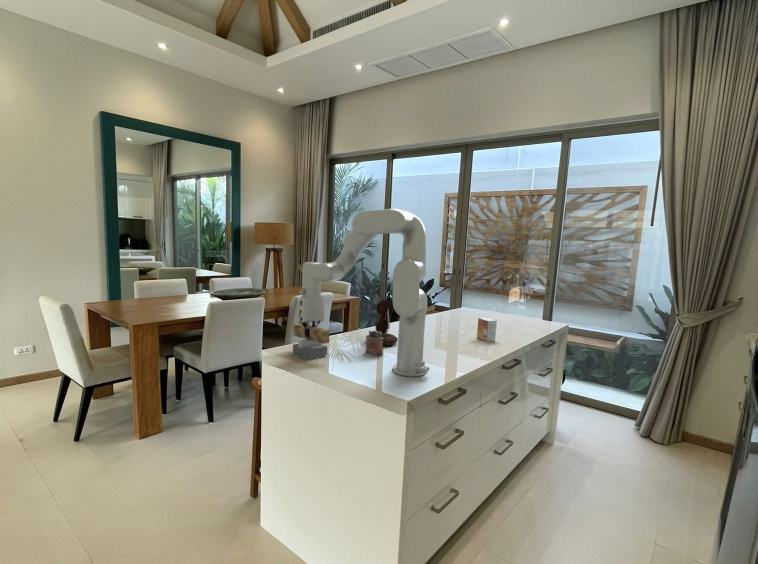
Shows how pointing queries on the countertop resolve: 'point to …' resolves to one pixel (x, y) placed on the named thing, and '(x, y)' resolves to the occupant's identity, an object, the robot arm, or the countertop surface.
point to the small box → (486, 329)
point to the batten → (312, 333)
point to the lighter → (374, 343)
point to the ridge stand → (309, 349)
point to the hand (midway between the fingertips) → (310, 336)
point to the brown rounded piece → (384, 323)
